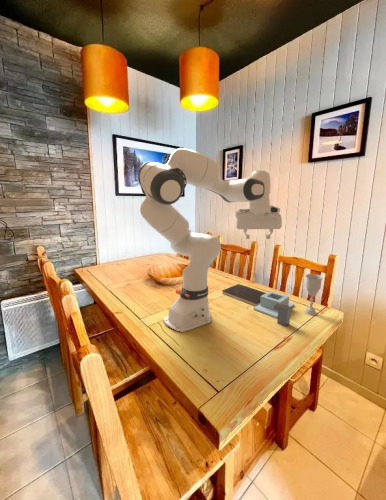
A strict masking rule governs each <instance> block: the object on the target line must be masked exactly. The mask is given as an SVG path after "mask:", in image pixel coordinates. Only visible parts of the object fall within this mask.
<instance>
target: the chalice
mask: <svg viewBox="0 0 386 500" xmlns="http://www.w3.org/2000/svg"><path fill="white" fill-rule="evenodd" d="M305 277H306V282H305V287H306V290H307V292H308V295H309V296H310V299H309V300H310V302H309V306H308V307H306V308H305V310H304V313H305V314H306V315H308V316H316V315H317V311H316V309H315V308H314V307H313V305H314V297H315V296H317V295H318V294H319V293H318V292H319V291H320V290H321V287H322V279H324V276H323V275H319V274H316V273H313V274H312V273H308V274H306V275H305Z"/></svg>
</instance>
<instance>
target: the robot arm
mask: <svg viewBox="0 0 386 500" xmlns="http://www.w3.org/2000/svg"><path fill="white" fill-rule="evenodd" d="M168 159H169V160H168V161H167V162H166V163H165V164H162V163H161V162H158V161H157V160H156V161H155V160H149V161H145V162H144V163H143V164H141V165H140V167H138V171H137V178H138V183H139V186H140V189H141V192H142V194H143V195H145V199H144V200H143V201H142V203H141V205H140V209H139V211H140V215H141V216H142V218H143V219H144V220H145V221H146V222H147V223H148V225H149V226H150V227H151V228H153V230H155V231H156V232H158V234H160V235H161V236H162V237H164V238H165V239H166V240H167V241H168V242H169V243H170V248H171V249H172V250H173V251H174V252H175V253H177V254H178V255H180V256H184V257H189V258H190V259H189V265H187V266H185V268H184V269H183V270H182V287H181V289H180V288H177V289H175V294H177V295H179V297H177V299H176V300H175V301H174V303H172V305H171V306H170V307H169V309H168V315H167V316H165V317H163V323H164V325H166V326H167V327H168V326H169V327H170V328H169V327H168V328H169V329H171V328H172V329H171V330H173V329H174V330H173V331H175V330H176V332H179V331H180V332H179V333H184V332H188V331H191V330H193V329H196V328H199V327H201V326H204V325H207V324H210V323H212V318H211V317H212V314H211V311H210V306H209V305H210V304H209V303H210V302H209V297H208V296H209V286H208V272H209V268H210V265H211V263H212V262H213V261H214V260H216V258H218V256H220V253H221V250H222V244H221V242H220V239H219V238H217V236H214V235H211V234H209V233H202V232H195V231H192V230H191V229H190V224H189V221H188V219H187V218H186V217H184V215H182V213H180V212H179V211H178V210H177V209H176V208H175V207H174V206H173V204H175V203H176V202H177V201H179V200H180V198H181V196H182V195H183V193H184V190H185V188H186V186H187V184H189V185H191V186H193V187H198V188H200V189H205V190H208V191H209V192H210V191H211V193H212V192H213V193H214V194H216V195H218V196H220V197H221V198H222V200H224V202H226V203H239V202H241V203H242V202H249V203H248V206H249V207H248V208H239V209H238V210H236V212H235V217H236V223H235V228H236V229H237V230H243V233H244V235H245V239H246V240H250V234H248V233H247V232H248V230H268V234H266V235H265V239H266V240H270V239H271V236H272V234H273V233H274V230H280V229H281V228H282V226H283V221H282V219H283V218H282V215H281V214H280V212H281V208H280V207H277V206H275V205H271V204H270V194H271V176H270V173H269V172H267V171H265V170H256V171H255V170H254V171H253V172H251V174H250V175H249V176H247V177H245V178H240V179H227V180H224V179H222V178H220V168H219V164H218V163H217V162H216V161H215V160H214V159H213V158H211V157H210V156H207V155H206V154H205V155H204V154H203V153H201V152H199V151H195V150H193V149H187V148H183V147H179V148H177V149H175V150H174V151H173V152H172V153H171V155H170V156H169V158H168Z"/></svg>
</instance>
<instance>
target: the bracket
mask: <svg viewBox="0 0 386 500" xmlns="http://www.w3.org/2000/svg"><path fill="white" fill-rule="evenodd" d="M274 309H275V310H278V318H277V322H276V323H277V324H278V325H281V326H283V327H287V326H289V325H290V322H291V309H292V308H291V307H289V306H286V305H283V304H281V305H280V304H276V305H274Z"/></svg>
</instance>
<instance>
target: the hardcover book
mask: <svg viewBox="0 0 386 500" xmlns="http://www.w3.org/2000/svg"><path fill="white" fill-rule="evenodd" d="M221 292H222V294H224V295H226V296H229V297H231V298H234V299H236V300H239V301H241V302H244V303H246V304H249V305H251V306H254V307H256V306H257V305H259V304H260V298H261V296H262V295H264V294H266V293H267V292H264V291H261V290H259V289H256V288H252V287H251V286H250V287H249V286H247V285H242V284H240V283H238V284H235V285H232V286H229V287H227V288H225V289H222V290H221Z"/></svg>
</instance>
